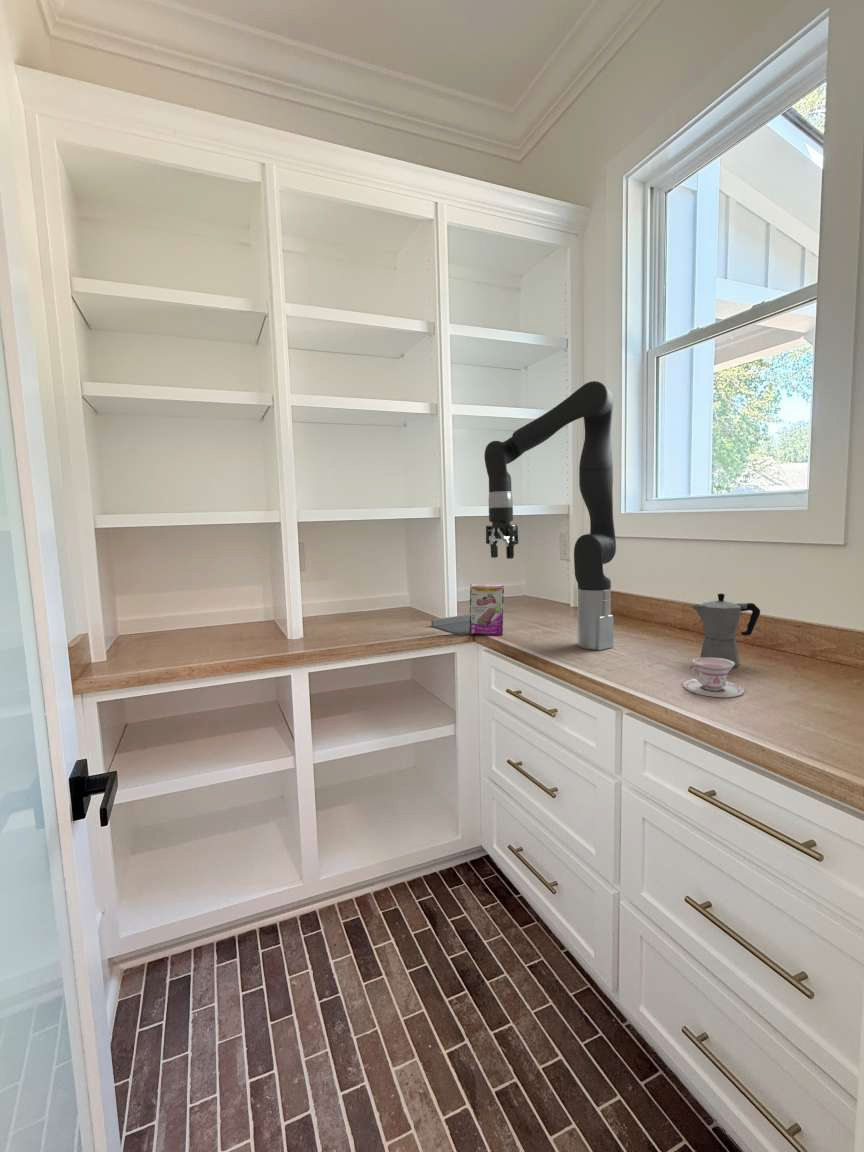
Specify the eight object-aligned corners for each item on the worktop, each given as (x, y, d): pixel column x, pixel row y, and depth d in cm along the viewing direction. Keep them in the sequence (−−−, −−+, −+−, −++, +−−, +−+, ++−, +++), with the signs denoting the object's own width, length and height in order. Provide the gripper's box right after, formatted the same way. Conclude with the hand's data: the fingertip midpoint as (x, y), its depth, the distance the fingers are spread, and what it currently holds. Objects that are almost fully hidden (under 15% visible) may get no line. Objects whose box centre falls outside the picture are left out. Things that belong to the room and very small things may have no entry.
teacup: (723, 680, 123) (724, 654, 122) (756, 697, 111) (757, 668, 110) (672, 682, 122) (672, 656, 122) (700, 700, 110) (701, 671, 110)
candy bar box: (469, 635, 175) (469, 586, 173) (469, 631, 180) (470, 583, 178) (503, 635, 174) (504, 586, 172) (502, 631, 179) (503, 584, 177)
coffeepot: (694, 667, 133) (696, 596, 131) (687, 657, 142) (689, 590, 140) (764, 669, 129) (767, 596, 127) (752, 659, 138) (754, 591, 136)
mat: (499, 629, 184) (499, 622, 184) (461, 635, 176) (461, 628, 176) (467, 620, 201) (467, 614, 200) (431, 626, 192) (431, 619, 192)
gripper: (524, 505, 162) (525, 558, 163) (497, 507, 174) (498, 556, 176) (504, 505, 158) (505, 559, 160) (478, 507, 171) (479, 557, 172)
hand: (502, 558), depth 168 cm, fingers open, 8 cm apart
